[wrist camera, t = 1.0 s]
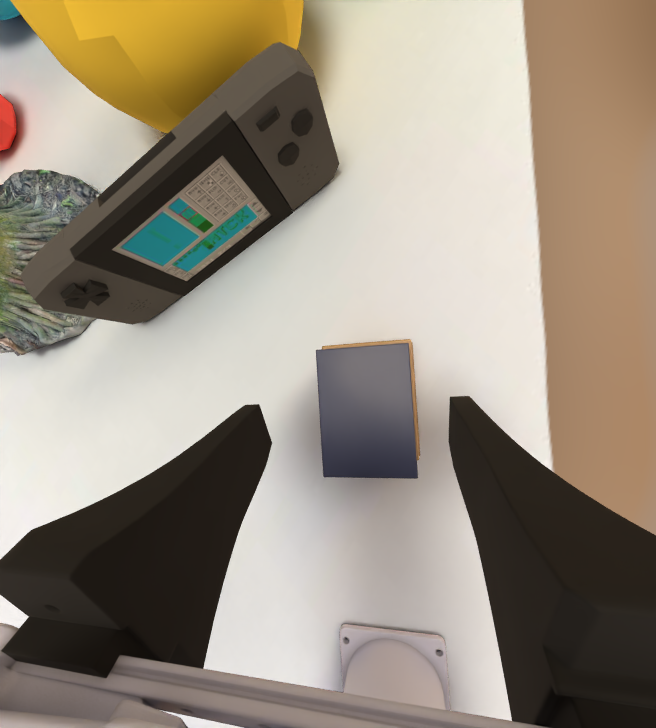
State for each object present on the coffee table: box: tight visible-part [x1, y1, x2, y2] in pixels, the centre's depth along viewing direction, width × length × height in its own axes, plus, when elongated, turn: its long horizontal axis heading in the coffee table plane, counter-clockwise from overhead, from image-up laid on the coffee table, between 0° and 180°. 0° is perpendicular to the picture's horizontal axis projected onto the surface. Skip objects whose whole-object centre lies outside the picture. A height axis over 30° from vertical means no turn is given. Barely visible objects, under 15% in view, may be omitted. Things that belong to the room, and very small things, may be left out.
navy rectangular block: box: [316, 343, 418, 479], centre depth 18 cm, size 7×5×4 cm
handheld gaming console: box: [20, 42, 339, 324], centre depth 23 cm, size 23×3×10 cm, turn 122°
